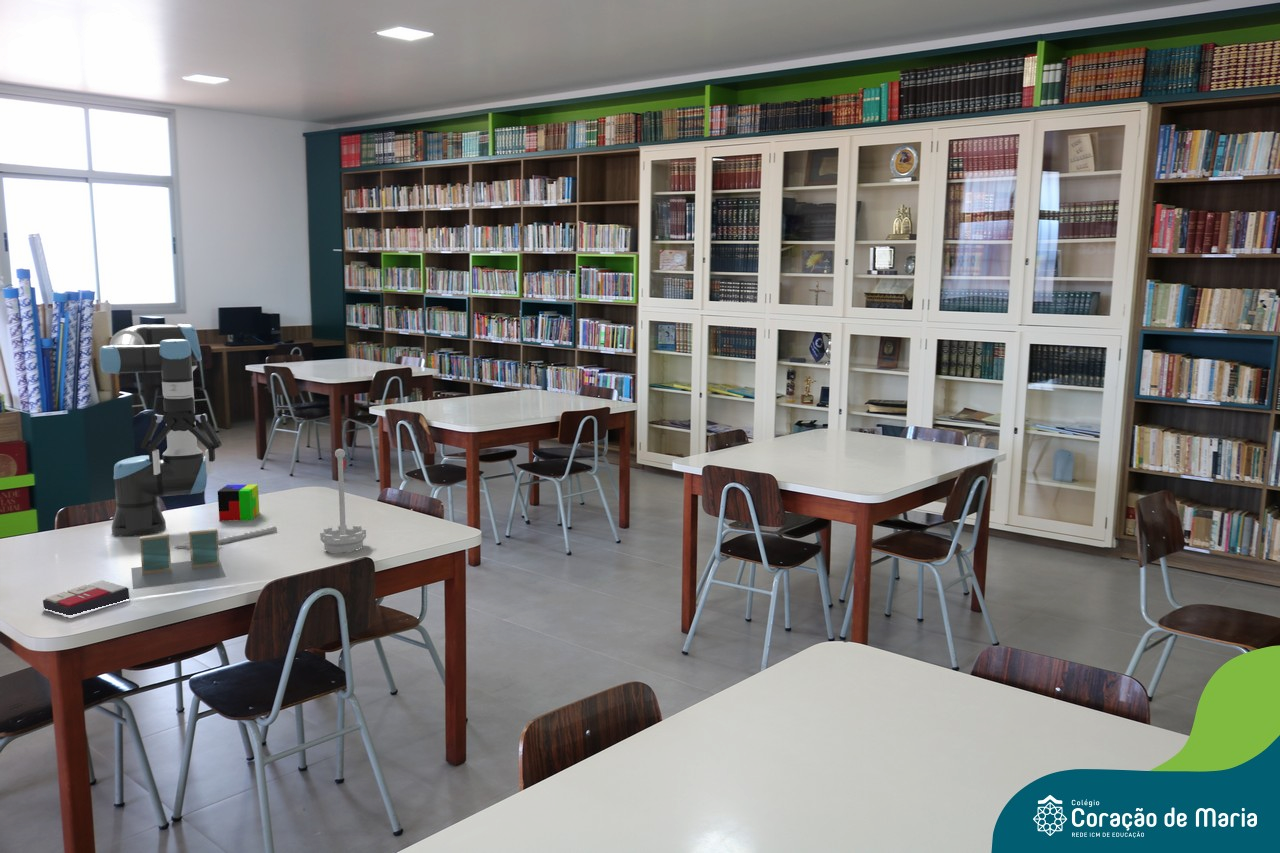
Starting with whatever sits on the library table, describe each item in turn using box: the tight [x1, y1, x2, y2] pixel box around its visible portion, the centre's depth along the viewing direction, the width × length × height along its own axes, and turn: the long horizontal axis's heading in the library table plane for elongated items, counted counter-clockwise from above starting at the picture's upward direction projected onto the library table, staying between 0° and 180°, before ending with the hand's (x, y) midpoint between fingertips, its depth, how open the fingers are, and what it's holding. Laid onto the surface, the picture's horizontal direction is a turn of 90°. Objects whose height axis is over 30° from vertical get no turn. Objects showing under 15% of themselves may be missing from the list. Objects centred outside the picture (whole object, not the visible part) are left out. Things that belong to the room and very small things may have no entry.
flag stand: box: [319, 448, 367, 554], centre depth 281 cm, size 13×13×30 cm
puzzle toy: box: [217, 483, 260, 522], centre depth 317 cm, size 10×10×10 cm
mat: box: [130, 559, 227, 590], centre depth 256 cm, size 20×22×1 cm
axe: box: [173, 525, 278, 551], centre depth 288 cm, size 30×14×2 cm, turn 144°
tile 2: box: [188, 528, 220, 568], centre depth 261 cm, size 2×7×10 cm, turn 119°
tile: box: [139, 533, 172, 575], centre depth 255 cm, size 2×7×10 cm, turn 119°
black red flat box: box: [42, 580, 130, 615], centre depth 231 cm, size 11×4×15 cm
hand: (183, 473), depth 260 cm, fingers open, 13 cm apart
